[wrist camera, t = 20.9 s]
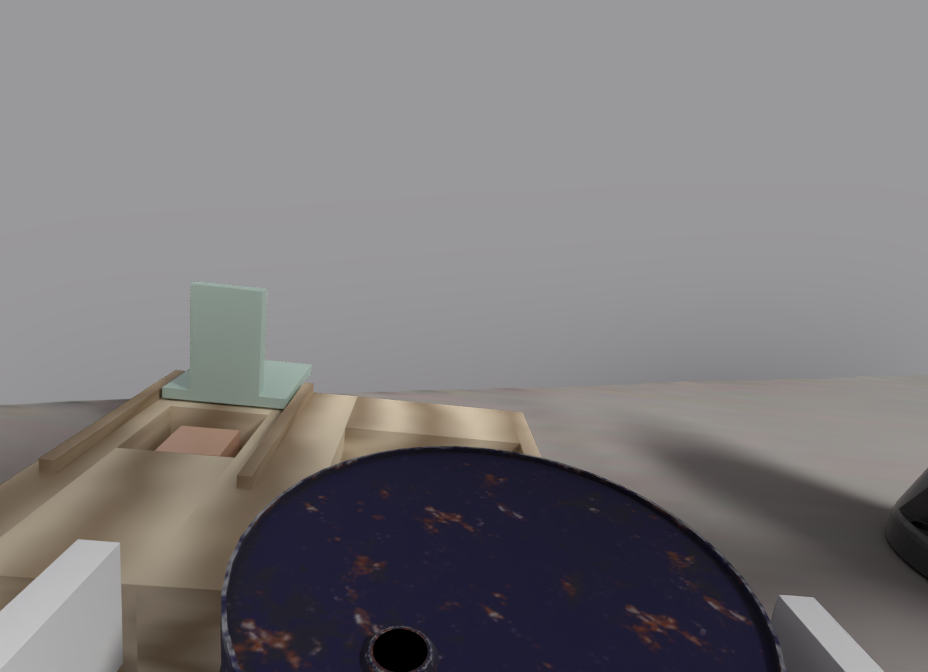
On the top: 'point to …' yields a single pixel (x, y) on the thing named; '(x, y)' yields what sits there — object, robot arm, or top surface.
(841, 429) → the top surface
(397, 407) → the puzzle board
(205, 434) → the block
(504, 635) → the dark blue barrel
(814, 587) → the top surface
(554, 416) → the top surface
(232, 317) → the cover
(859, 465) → the top surface
